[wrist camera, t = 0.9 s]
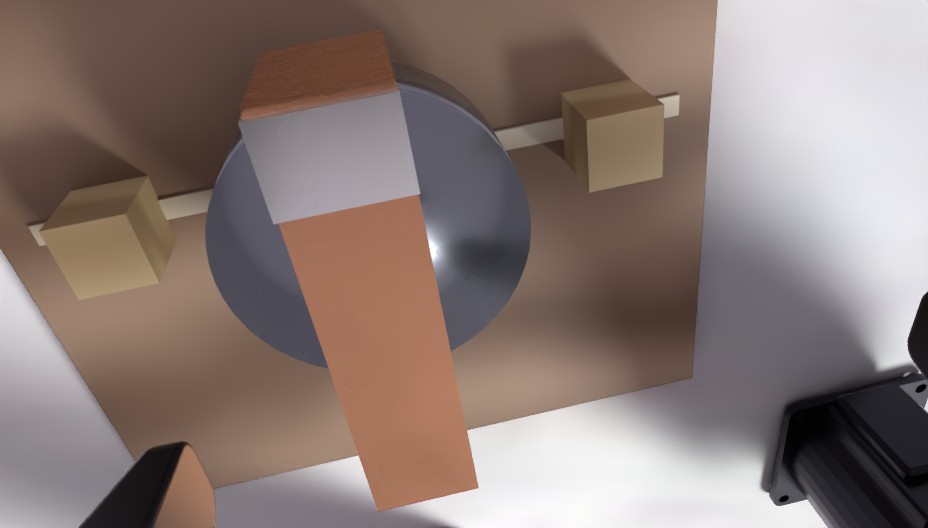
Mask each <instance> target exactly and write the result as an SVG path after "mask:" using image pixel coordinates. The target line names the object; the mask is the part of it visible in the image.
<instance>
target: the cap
mask: <svg viewBox="0 0 928 528" xmlns="http://www.w3.org/2000/svg"><path fill="white" fill-rule="evenodd" d="M239 111H240V114H241V116H240V119H239V121H238V125H239V128H238V129H237V131H236V133H235V135H234V137H233V139H232V141H231V144H230V146H229V148H228V151H227V154H226V157H225V159H224V162H223V165H222V168H221V170H220V173H219V176H218V179H217V181H216V184H215V187H214V190H213V193H212V196H211V200H210V203H209V206H208V211H207V218H206V226H205V240H206V251H207V257H208V263H209V267H210V270H211V273H212V275H213V278H214V281H215V284H216V286H217V288H218V290H219V292H220V293H221V295H222V297H223V299H224V301H225V302H226V304H227V305H228V306H229V308H230V309H231V310H232V312H233V313H234V315H235V316H236V317H237V318H238V319H239V320H240V321H241V322H242V323H243V324H244V325H245V326H246V327H247V328H248V329H249V330H250V331H251V332H252V333H254V334H255V335H256V336H257V337H258V338H260V339H261V340H262V341H264V342H265V343H267V344H268V345H270V346H272V347H273V348H275V349H276V350H278V351H280V352H282V353H284V354H286V355H288V356H290V357H292V358H295V359H297V360H300V361H303V362H306V363H309V364H311V365H315V366H319V367H323V368H328V369H329V371H330V374H331V377H332V379H333V382H334V385H335V388H336V391H337V394H338V397H339V400H340V403H341V405H342V408H343V411H344V414H345V417H346V420H347V423H348V426H349V428H350V431H351V434H352V437H353V440H354V443H355V446H356V449H357V452H358V454H359V457H360V460H361V463H362V466H363V469H364V472H365V475H366V478H367V480H368V483H369V486H370V489H371V492H372V495H373V498H374V501H375V504H376V506H377V509H378V512H380V511H384V510H388V509H392V508H397V507H401V506H405V505H409V504H413V503H418V502H422V501H426V500H430V499H434V498H439V497H443V496H447V495H451V494H455V493H460V492H464V491H468V490H472V489H476V488H478V483H477V478H476V473H475V468H474V463H473V458H472V453H471V448H470V444H469V439H468V434H467V429H466V424H465V419H464V414H463V409H462V404H461V399H460V394H459V390H458V385H457V380H456V375H455V370H454V365H453V360H452V355H451V351H452V350H454V349H456V348H458V347H459V346H461V345H462V344H464V343H465V342H467V341H468V340H470V339H472V338H473V337H474V336H475V335H477V334H478V333H479V332H480V331H481V330H483V329H484V328H485V327H486V326H487V325H488V324H489V323H490V322H491V321H492V320H493V319H494V318H495V317H496V316H497V315H498V314H499V313H500V311H501V310H502V309H503V307H504V306H505V305H506V303H507V302H508V301H509V299H510V297H511V296H512V294H513V292H514V291H515V289H516V287H517V285H518V283H519V281H520V278H521V276H522V274H523V271H524V269H525V265H526V262H527V258H528V254H529V249H530V240H531V215H530V209H529V204H528V198H527V195H526V192H525V189H524V186H523V183H522V181H521V179H520V177H519V175H518V173H517V171H516V169H515V167H514V165H513V163H512V161H511V160H510V158H509V156H508V155H507V153H506V151H505V149H504V148H503V146H502V144H501V143H500V141H499V139H498V137H497V136H496V134H495V132H494V131H493V129H492V127H491V126H490V124H489V123H488V121H487V120H486V119H485V117H484V116H483V114H482V113H481V112H480V110H479V109H478V108H477V107H476V106H475V105H474V104H473V103H472V102H471V101H470V100H469V99H468V98H467V97H466V96H465V95H463V94H462V93H461V92H460V91H458V90H457V89H456V88H455V87H453V86H452V85H450V84H448V83H447V82H445V81H443V80H442V79H440V78H438V77H437V76H435V75H432V74H430V73H428V72H425V71H423V70H421V69H418V68H415V67H412V66H408V65H404V64H401V63H397V62H390V58H389V55H388V51H387V47H386V44H385V40H384V36H383V33H382V29H380V30H374V31H369V32H364V33H359V34H353V35H348V36H343V37H338V38H332V39H327V40H322V41H317V42H311V43H306V44H301V45H295V46H290V47H285V48H280V49H274V50H269V51H264V52H261V53H260V56H259V59H258V61H257V64H256V66H255V69H254V72H253V74H252V77H251V80H250V82H249V85H248V88H247V90H246V93H245V96H244V98H243V101H242V104H241V106H240V109H239Z"/></svg>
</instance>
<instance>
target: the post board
mask: <svg viewBox="0 0 928 528" xmlns="http://www.w3.org/2000/svg"><path fill="white" fill-rule="evenodd" d="M717 1H718V0H0V248H1V249H2V251H3V253H4V254H5V256H6V257H7V259H8V260H9V262H10V264H11V265H12V267H13V268H14V270H15V272H16V273H17V275H18V276H19V278H20V279H21V281H22V283H23V284H24V286H25V287H26V289H27V290H28V292H29V294H30V295H31V297H32V298H33V300H34V302H35V303H36V305H37V306H38V308H39V309H40V311H41V313H42V314H43V316H44V317H45V319H46V321H47V322H48V324H49V325H50V327H51V328H52V330H53V332H54V333H55V335H56V336H57V338H58V339H59V341H60V343H61V344H62V346H63V347H64V349H65V351H66V352H67V354H68V355H69V357H70V358H71V360H72V362H73V363H74V365H75V366H76V368H77V369H78V371H79V373H80V374H81V376H82V377H83V379H84V381H85V382H86V384H87V385H88V387H89V388H90V390H91V392H92V393H93V395H94V396H95V398H96V399H97V401H98V403H99V404H100V406H101V407H102V409H103V411H104V412H105V414H106V415H107V417H108V418H109V420H110V422H111V423H112V425H113V426H114V428H115V430H116V431H117V433H118V434H119V436H120V437H121V439H122V441H123V442H124V444H125V445H126V447H127V448H128V450H129V452H130V453H131V455H132V456H133V458H134V460H135V461H137V460H138V459H139V458H140V457H141V456H142V455H143V454H144V453H145V452H146V451H147V450H148V449H150V448H152V447H154V446H159V445H163V444H168V443H173V442H178V441H186V442H188V443H189V444H190V445H191V446H192V447H193V449H194V450H195V453H196V455H197V457H198V459H199V461H200V463H201V465H202V467H203V469H204V471H205V473H206V475H207V477H208V479H209V481H210V483H211V485H212V487H213V489H216V488H220V487H224V486H228V485H233V484H237V483H241V482H246V481H250V480H254V479H259V478H263V477H267V476H272V475H276V474H280V473H284V472H289V471H293V470H297V469H302V468H306V467H310V466H315V465H319V464H323V463H328V462H332V461H336V460H341V459H345V458H349V457H353V456H358V455H359V454H358V452H357V449H356V446H355V443H354V440H353V437H352V434H351V431H350V428H349V426H348V423H347V420H346V417H345V414H344V411H343V408H342V405H341V403H340V400H339V397H338V394H337V391H336V388H335V385H334V382H333V379H332V377H331V374H330V371H329V369H328V368H323V367H319V366H315V365H311V364H309V363H306V362H303V361H300V360H297V359H295V358H292V357H290V356H288V355H286V354H284V353H282V352H280V351H278V350H276V349H275V348H273V347H272V346H270V345H268V344H267V343H265V342H264V341H262V340H261V339H260V338H258V337H257V336H256V335H255V334H254V333H252V332H251V331H250V330H249V329H248V328H247V327H246V326H245V325H244V324H243V323H242V322H241V321H240V320H239V319H238V318H237V317H236V316H235V315H234V313H233V312H232V310H231V309H230V308H229V306H228V305H227V304H226V302H225V301H224V299H223V297H222V295H221V293H220V292H219V290H218V288H217V286H216V284H215V281H214V278H213V275H212V273H211V270H210V267H209V263H208V257H207V251H206V240H205V226H206V218H207V211H208V206H209V203H210V200H211V196H212V193H213V190H214V187H215V184H216V181H217V179H218V176H219V173H220V170H221V168H222V165H223V162H224V159H225V157H226V154H227V151H228V148H229V146H230V144H231V141H232V139H233V137H234V135H235V133H236V131H237V129H238V128H239V125H238V121H239V119H240V116H241V114H240V111H239V109H240V106H241V104H242V101H243V98H244V96H245V93H246V90H247V88H248V85H249V82H250V80H251V77H252V74H253V72H254V69H255V66H256V64H257V61H258V59H259V56H260V53H261V52H264V51H269V50H274V49H280V48H285V47H290V46H295V45H301V44H306V43H311V42H317V41H322V40H327V39H332V38H338V37H343V36H348V35H353V34H359V33H364V32H369V31H374V30H380V29H382V33H383V36H384V40H385V44H386V47H387V51H388V55H389V58H390V62H397V63H401V64H404V65H408V66H412V67H415V68H418V69H421V70H423V71H425V72H428V73H430V74H432V75H435V76H437V77H438V78H440V79H442V80H443V81H445V82H447V83H448V84H450V85H452V86H453V87H455V88H456V89H457V90H458V91H460V92H461V93H462V94H463V95H465V96H466V97H467V98H468V99H469V100H470V101H471V102H472V103H473V104H474V105H475V106H476V107H477V108H478V109H479V110H480V112H481V113H482V114H483V116H484V117H485V119H486V120H487V121H488V123H489V124H490V126H491V127H492V129H493V131H494V132H495V134H496V136H497V137H498V139H499V141H500V143H501V144H502V146H503V148H504V149H505V151H506V153H507V155H508V156H509V158H510V160H511V161H512V163H513V165H514V167H515V169H516V171H517V173H518V175H519V177H520V179H521V181H522V183H523V186H524V189H525V192H526V195H527V198H528V204H529V209H530V215H531V240H530V249H529V254H528V258H527V262H526V265H525V269H524V271H523V274H522V276H521V278H520V281H519V283H518V285H517V287H516V289H515V291H514V292H513V294H512V296H511V297H510V299H509V301H508V302H507V303H506V305H505V306H504V307H503V309H502V310H501V311H500V313H499V314H498V315H497V316H496V317H495V318H494V319H493V320H492V321H491V322H490V323H489V324H488V325H487V326H486V327H485V328H484V329H483V330H481V331H480V332H479V333H478V334H477V335H475V336H474V337H473V338H472V339H470V340H468V341H467V342H465V343H464V344H462V345H461V346H459V347H458V348H456V349H454V350H452V351H451V355H452V360H453V365H454V370H455V375H456V380H457V385H458V390H459V394H460V399H461V404H462V409H463V414H464V419H465V424H466V429H467V430H470V429H474V428H478V427H483V426H487V425H491V424H496V423H500V422H504V421H509V420H513V419H517V418H521V417H526V416H530V415H534V414H539V413H543V412H547V411H552V410H556V409H560V408H565V407H569V406H573V405H577V404H582V403H586V402H590V401H595V400H599V399H603V398H608V397H612V396H616V395H621V394H625V393H629V392H633V391H638V390H642V389H646V388H651V387H655V386H659V385H664V384H668V383H672V382H677V381H681V380H685V379H689V378H692V370H693V355H694V340H695V326H696V311H697V296H698V281H699V267H700V252H701V237H702V222H703V208H704V193H705V178H706V163H707V149H708V134H709V119H710V104H711V90H712V75H713V60H714V45H715V31H716V16H717Z"/></svg>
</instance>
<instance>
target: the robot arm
mask: <svg viewBox="0 0 928 528" xmlns="http://www.w3.org/2000/svg"><path fill="white" fill-rule="evenodd" d="M908 351H909V354H910V356H911V358H912V360H913V362H914V363H915V365H916V366H917V367H918V369H919V370H920V372H921V373H922V374H914V375H910V376H906V377H901V378H897V379H893V380H889V381H885V382H880V383H876V384H872V385H868V386H864V387H859V388H855V389H851V390H847V391H842V392H838V393H834V394H830V395H826V396H821V397H817V398H813V399H809V400H804V401H800V402H796V403H794V404H791V405H790V406H788V407H787V409H786V410H785V412H784V416H783V421H782V427H781V432H780V438H779V443H778V449H777V454H776V460H775V465H774V471H773V476H772V482H771V487H770V493H769V496H770V498H771V500H772V501H773V502H774V504H775V505H777V506H782V505H786V504H790V503H794V502H798V501H802V500H808V501H809V502H810V504H811V505H812V506H813V508H814V509H815V510H816V512H817V513H818V514H819V516H820V517H821V518H822V520H823V521H824V523H825V524H826V525H827V527H828V528H928V412H927V411H926V410H925V409H924V407H925V404H926V401H927V398H928V292H927V293H926V294H925V295H924V296H923V297H922V299H921V302H920V305H919V308H918V311H917V314H916V316H915V319H914V322H913V325H912V328H911V331H910V334H909V337H908ZM215 509H216V504H215V495H214V491H213V487H212V485H211V483H210V481H209V479H208V477H207V475H206V473H205V471H204V469H203V467H202V465H201V463H200V461H199V459H198V457H197V455H196V453H195V450H194V449H193V447H192V446H191V445H190V444H189V443H188V442H186V441H178V442H173V443H168V444H163V445H159V446H154V447H152V448H150V449H148V450H147V451H146V452H145V453H144V454H143V455H142V456H141V457H140V458H139V459H138V460H137V461H136V463H135V464H134V465H133V466H132V467H131V468H130V469H129V470H128V472H127V473H126V474H125V475H124V476H123V477H122V478H121V480H120V481H119V482H118V483H117V484H116V485H115V486H114V488H113V489H112V490H111V491H110V492H109V493H108V494H107V496H106V497H105V498H104V499H103V500H102V501H101V502H100V504H99V505H98V506H97V507H96V508H95V509H94V510H93V512H92V513H91V514H90V515H89V516H88V517H87V518H86V520H85V521H84V522H83V523H82V524H81V525H80V526H79V527H78V528H215Z"/></svg>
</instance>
